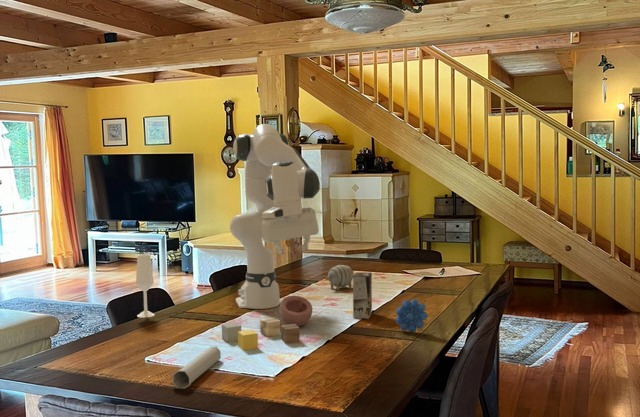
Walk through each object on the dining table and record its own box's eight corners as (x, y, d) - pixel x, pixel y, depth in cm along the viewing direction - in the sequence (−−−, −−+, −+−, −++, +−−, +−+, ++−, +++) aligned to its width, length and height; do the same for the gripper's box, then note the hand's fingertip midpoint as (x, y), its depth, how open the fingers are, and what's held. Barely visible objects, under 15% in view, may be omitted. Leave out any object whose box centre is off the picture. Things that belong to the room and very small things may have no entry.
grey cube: (222, 338, 216) (221, 324, 215) (235, 336, 218) (235, 322, 218) (227, 342, 212) (227, 327, 211) (241, 340, 214) (241, 325, 214)
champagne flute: (158, 314, 250) (156, 254, 248) (146, 318, 244) (144, 256, 242) (144, 312, 253) (142, 253, 251) (133, 316, 247) (131, 255, 245)
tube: (205, 346, 195) (169, 373, 171) (220, 341, 194) (186, 368, 169) (210, 362, 195) (175, 391, 171) (226, 358, 194) (193, 386, 169)
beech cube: (260, 333, 222) (260, 319, 221) (272, 331, 225) (272, 317, 224) (267, 336, 218) (267, 322, 217) (280, 334, 220) (279, 320, 220)
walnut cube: (281, 339, 214) (281, 325, 214) (295, 338, 216) (295, 323, 215) (285, 343, 209) (284, 329, 209) (299, 342, 211) (299, 327, 210)
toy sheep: (360, 287, 296) (360, 264, 295) (335, 293, 285) (335, 268, 284) (344, 284, 304) (344, 261, 303) (319, 289, 292) (318, 266, 291)
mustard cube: (238, 346, 207) (237, 331, 207) (252, 344, 209) (252, 329, 209) (243, 350, 203) (242, 335, 202) (257, 348, 205) (257, 333, 204)
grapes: (431, 331, 222) (431, 297, 221) (425, 336, 216) (425, 301, 215) (399, 327, 227) (399, 294, 226) (393, 332, 221) (393, 298, 220)
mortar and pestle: (287, 332, 223) (287, 300, 222) (274, 324, 233) (273, 293, 232) (318, 327, 228) (317, 296, 227) (303, 320, 239) (303, 290, 238)
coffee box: (369, 318, 240) (369, 276, 239) (352, 318, 241) (352, 276, 240) (372, 312, 249) (372, 272, 247) (356, 312, 250) (355, 271, 249)
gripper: (309, 207, 216) (313, 247, 217) (257, 214, 204) (262, 256, 205) (319, 206, 211) (324, 247, 212) (267, 213, 199) (272, 257, 200)
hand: (293, 252), depth 208 cm, fingers open, 8 cm apart
